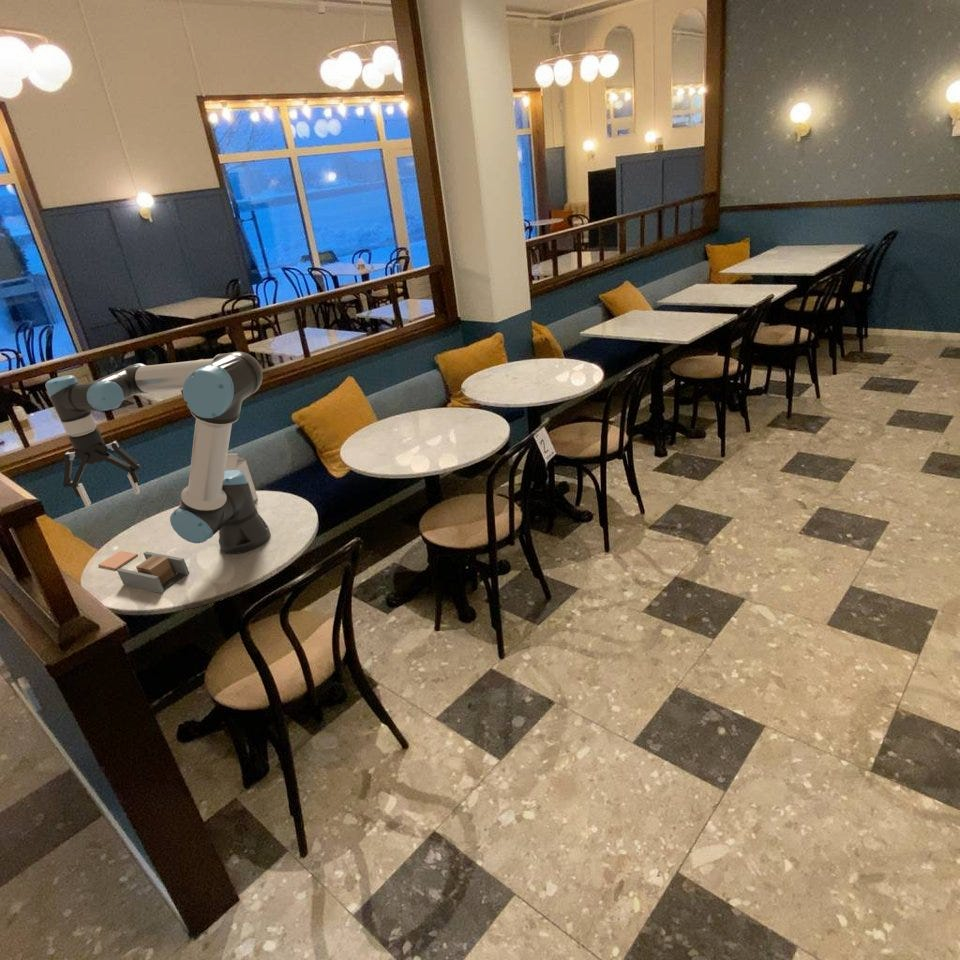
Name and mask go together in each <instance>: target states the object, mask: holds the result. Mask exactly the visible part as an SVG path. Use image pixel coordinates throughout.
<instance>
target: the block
mask: <svg viewBox="0 0 960 960" xmlns="http://www.w3.org/2000/svg"><path fill="white" fill-rule="evenodd" d="M135 568H136V570H137V571H136V572H140V573H144V574H149V575H154V576H158V577H159V580H160V582H161V585H162V584H163V583H165V582H166V581H167V580H169V579H170V578H172V577H173V576H174V575H175V572H173V570H172V568H171V565H170V563H169V561H168V558H165V557H160V556H155V555H153V556H151V557H150V558H148V559H147V560H146V559H144V561H142V562H141V563H139V564H137V565H136V566H135Z"/></svg>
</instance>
